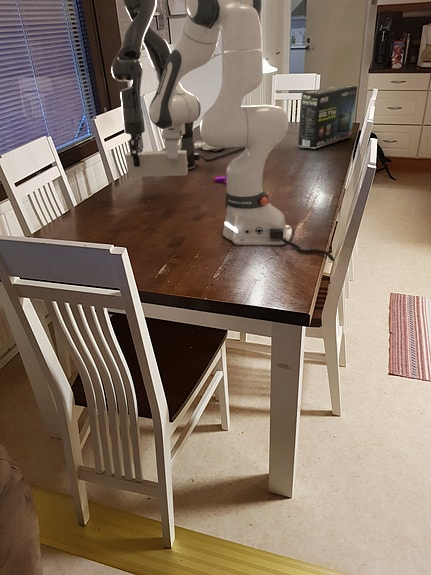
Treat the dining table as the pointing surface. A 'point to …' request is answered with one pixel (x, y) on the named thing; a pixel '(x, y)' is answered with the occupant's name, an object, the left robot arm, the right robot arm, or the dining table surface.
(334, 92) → the router box
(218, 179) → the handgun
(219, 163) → the dining table surface
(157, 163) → the bar
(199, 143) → the fossil
